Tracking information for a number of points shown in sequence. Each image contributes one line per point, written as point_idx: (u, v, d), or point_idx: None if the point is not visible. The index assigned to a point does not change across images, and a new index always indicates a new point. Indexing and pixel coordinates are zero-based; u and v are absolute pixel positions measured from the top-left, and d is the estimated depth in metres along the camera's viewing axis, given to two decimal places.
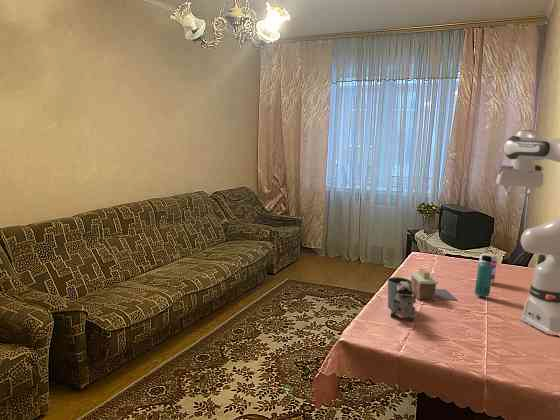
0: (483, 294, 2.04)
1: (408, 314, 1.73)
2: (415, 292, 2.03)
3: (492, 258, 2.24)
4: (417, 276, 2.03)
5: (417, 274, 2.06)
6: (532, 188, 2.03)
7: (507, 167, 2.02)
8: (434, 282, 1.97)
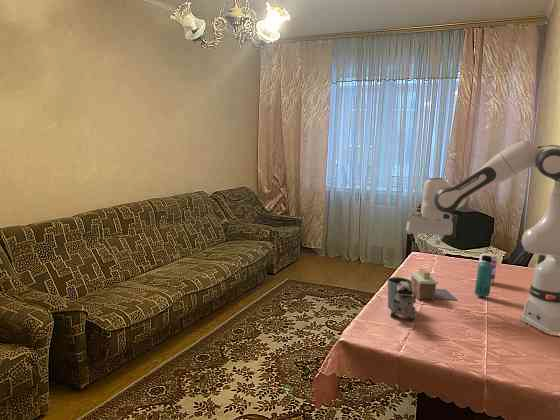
0: (483, 294, 2.04)
1: (408, 314, 1.73)
2: (415, 292, 2.03)
3: (492, 258, 2.24)
4: (417, 276, 2.03)
5: (417, 274, 2.06)
6: (442, 236, 1.99)
7: (416, 215, 1.98)
8: (434, 282, 1.97)
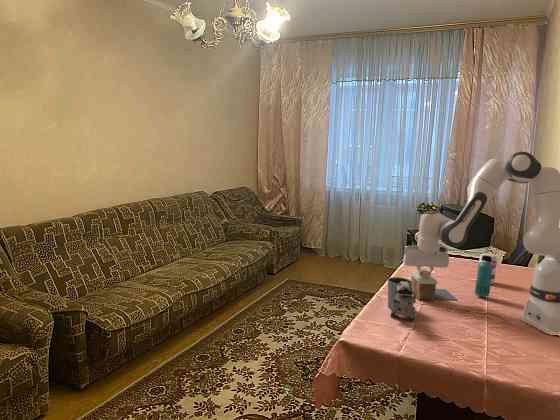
0: (483, 294, 2.04)
1: (408, 314, 1.73)
2: (415, 292, 2.03)
3: (492, 258, 2.24)
4: (417, 276, 2.03)
5: (417, 274, 2.06)
6: (432, 268, 2.01)
7: (413, 247, 2.00)
8: (434, 282, 1.97)
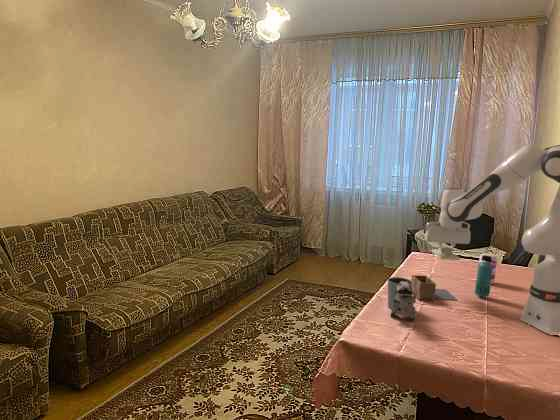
0: (483, 294, 2.04)
1: (408, 314, 1.73)
2: (415, 292, 2.03)
3: (492, 258, 2.24)
4: (438, 252, 2.05)
5: (438, 251, 2.08)
6: (454, 244, 2.03)
7: (434, 224, 2.02)
8: (456, 258, 1.98)
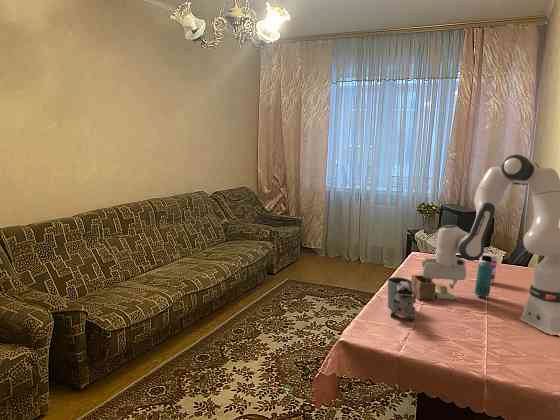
0: (483, 294, 2.04)
1: (408, 314, 1.73)
2: (415, 292, 2.03)
3: (492, 258, 2.24)
4: None
5: None
6: (455, 280, 2.06)
7: (430, 260, 2.05)
8: (451, 297, 2.01)
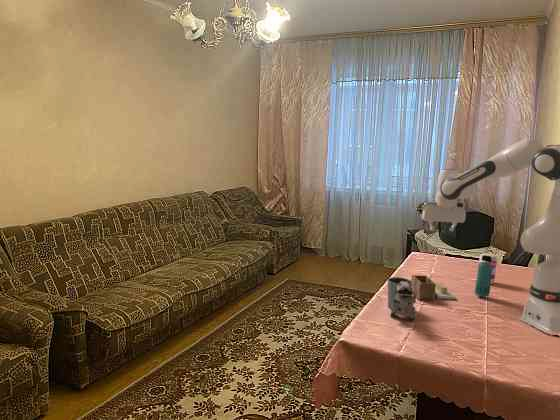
0: (483, 294, 2.04)
1: (408, 314, 1.73)
2: (415, 292, 2.03)
3: (492, 258, 2.24)
4: None
5: None
6: (455, 223, 2.11)
7: (431, 203, 2.10)
8: (451, 297, 2.01)
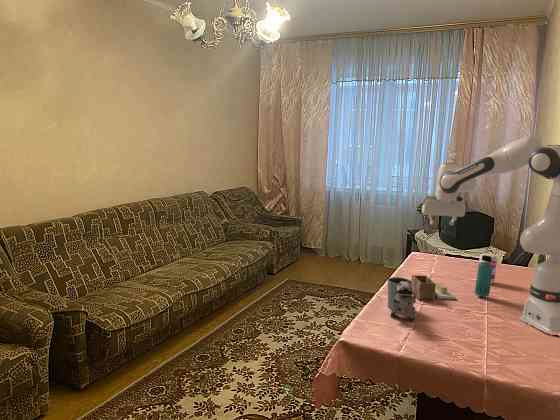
0: (483, 294, 2.04)
1: (408, 314, 1.73)
2: (415, 292, 2.03)
3: (492, 258, 2.24)
4: None
5: None
6: (455, 217, 2.14)
7: (431, 197, 2.13)
8: (451, 297, 2.01)
